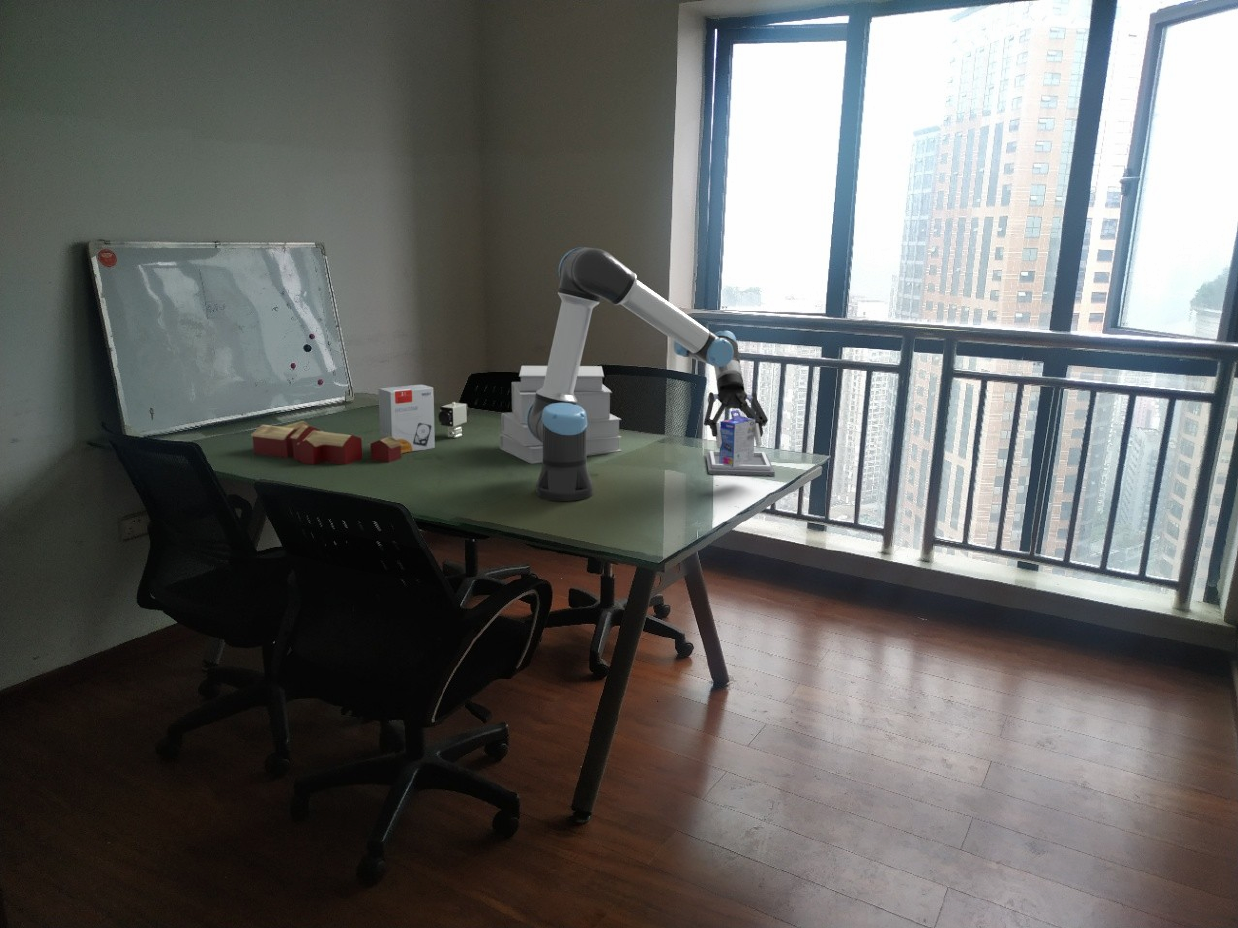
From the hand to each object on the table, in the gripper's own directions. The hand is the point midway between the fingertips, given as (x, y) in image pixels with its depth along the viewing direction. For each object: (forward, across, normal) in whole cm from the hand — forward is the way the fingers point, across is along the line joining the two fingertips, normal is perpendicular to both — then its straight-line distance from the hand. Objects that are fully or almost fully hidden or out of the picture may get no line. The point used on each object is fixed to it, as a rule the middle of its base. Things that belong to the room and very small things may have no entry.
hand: (739, 445), depth 236 cm
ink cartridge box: (+2, 0, -6) cm, 6 cm away
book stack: (-23, +46, -42) cm, 66 cm away
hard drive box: (-25, +94, -44) cm, 107 cm away
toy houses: (-20, +118, -40) cm, 126 cm away
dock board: (-8, -6, -25) cm, 27 cm away
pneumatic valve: (-37, +81, -56) cm, 106 cm away
